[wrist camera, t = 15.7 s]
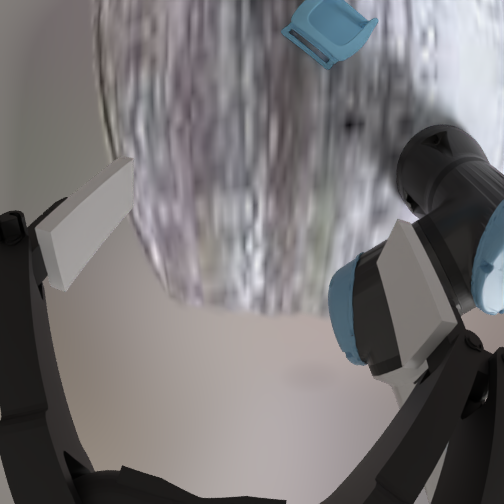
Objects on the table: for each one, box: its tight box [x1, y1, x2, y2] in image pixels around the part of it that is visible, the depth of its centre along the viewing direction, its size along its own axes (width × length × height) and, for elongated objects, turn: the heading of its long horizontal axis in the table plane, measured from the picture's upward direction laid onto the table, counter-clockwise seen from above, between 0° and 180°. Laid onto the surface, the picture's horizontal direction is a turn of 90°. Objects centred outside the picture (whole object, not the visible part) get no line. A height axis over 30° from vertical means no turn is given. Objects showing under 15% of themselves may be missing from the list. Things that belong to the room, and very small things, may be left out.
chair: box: [281, 0, 378, 70], centre depth 26 cm, size 8×8×12 cm
